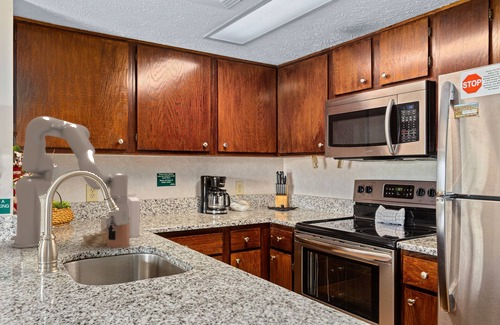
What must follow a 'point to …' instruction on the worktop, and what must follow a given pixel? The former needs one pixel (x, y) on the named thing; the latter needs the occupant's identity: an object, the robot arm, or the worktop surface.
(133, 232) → the milk
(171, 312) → the worktop surface
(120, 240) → the pink square slab
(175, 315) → the worktop surface
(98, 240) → the rack
